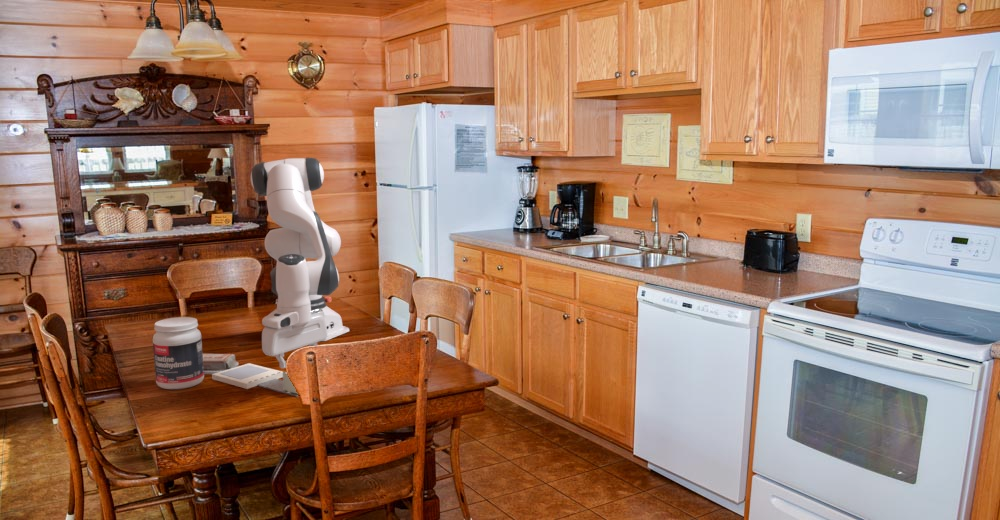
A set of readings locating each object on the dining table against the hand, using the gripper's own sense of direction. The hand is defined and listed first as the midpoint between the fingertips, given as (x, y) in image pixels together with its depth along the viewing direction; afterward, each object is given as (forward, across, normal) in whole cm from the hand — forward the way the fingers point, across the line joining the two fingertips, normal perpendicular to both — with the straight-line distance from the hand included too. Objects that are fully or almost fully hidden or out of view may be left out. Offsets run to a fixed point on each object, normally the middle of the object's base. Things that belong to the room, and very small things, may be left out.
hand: (297, 363), depth 210 cm
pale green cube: (+8, +1, 0) cm, 8 cm away
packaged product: (+9, +2, -40) cm, 41 cm away
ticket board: (+8, +1, -13) cm, 15 cm away
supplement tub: (+8, +14, -34) cm, 37 cm away
